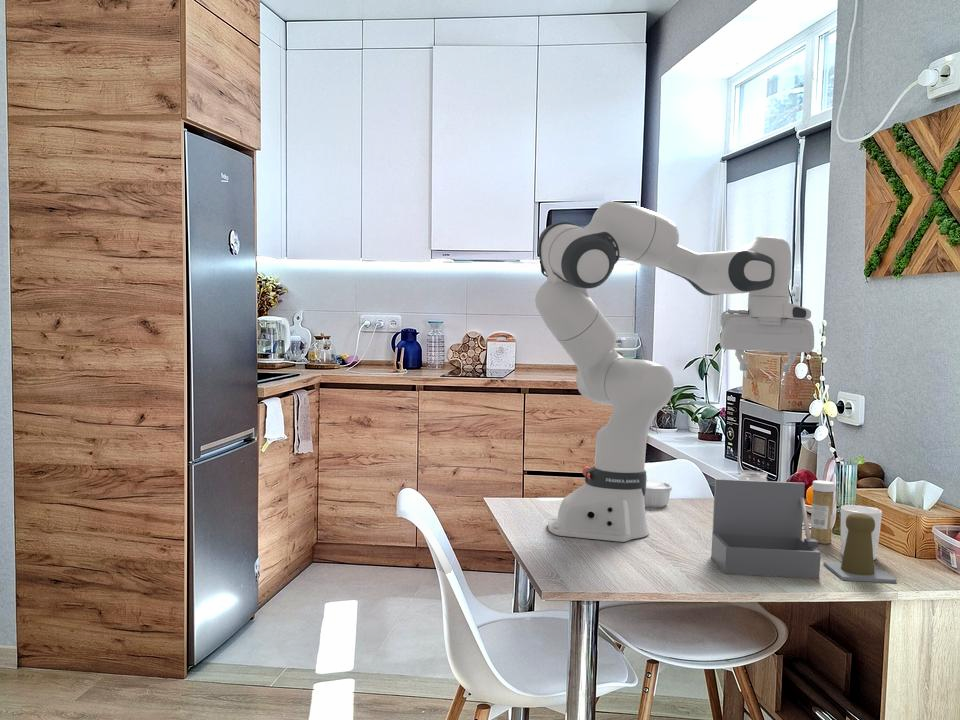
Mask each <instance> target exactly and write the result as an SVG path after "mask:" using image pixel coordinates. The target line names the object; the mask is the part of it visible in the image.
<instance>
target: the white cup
mask: <svg viewBox="0 0 960 720" xmlns="http://www.w3.org/2000/svg"><path fill="white" fill-rule="evenodd" d="M854 513H860V514H866V515H869V516H871V517H872V518H873V519H874V521H875V528H874V531H873V532H872V533H871V535H872V548H873V560H876V558H877V554H878V547H879V541H880V533H881V525H882V515H883V511H882V510H881V509H879V508H876V507H871V506H866V505H858V504H845V505H841V506H840V521H839V522H840V528H839V529H840V554H841V555H842V556H843V554H844V549H845V544H846V539H847V534H848V529H847V527H846V518H847V516H848V515H850V514H854Z"/></svg>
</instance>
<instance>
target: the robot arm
mask: <svg viewBox="0 0 960 720" xmlns="http://www.w3.org/2000/svg"><path fill="white" fill-rule="evenodd" d="M679 240H680V235H679V230H678V227H677V225H676V223H675V222H674V221H672V220H671V219H668V218H667V217H666V216H664V215H662V214H660V213H658V212H655V211H653V210H650V209H649V208H648V209H647V208H644V207H641V206H638V205H636V204H635V205H634V204H631V203H626V202H621V201H620V202H619V201H607V202H604V203H602V204H601V205H600V206H599V207H598V208H597V209H596V210H595V211H594V213H593V216H592V218H591V221H590V222H589V223H588V224H587V225H586V226H584V227H581V226H578V225H576V224H575V223H571V222H567V221H561V222H560V221H559V222H555V223H551V224H550V225H548V226H547V227H545V228H544V229H543V230H542V231H541V233H540V235H539V238H538V240H537V251H538V253H537V254H538V258H539V262H540V273H541V274H542V275H543V276H545V277H546V278H547V279H546V281H544V283H543V284H541V286H540V287H539V289H538V290H537V292H536V294H535V298H534V299H535V300H534V302H535V306H536V309H537V311H538V314H539V315H540V317H541V318H542V321H544V324H545V326H546V327H547V329H548V330H549V331H550V333H551V334H552V335H553V337H554V338H555V339H556V341H557V342H558V343H559V345H561V346H562V349H564V351H565V352H566V354H568V356H569V357H570V358H571V360H572V361H573V363H574V365H575V367H576V369H577V372H576V376H575V380H576V381H575V382H576V387H577V390H578V392H579V393H580V395H581V396H582V397H584V398H585V399H587V400H590V401H592V402H594V403H596V404H600V405H603V406H604V405H606V406H611V407H612V411H611V414H610V417H609V419H608V421H607V423H606V424H605V425H603V426H601V428H599V429H598V430H597V433H596V436H595V450H594V451H595V452H594V453H595V454H594V455H595V456H594V466H593V467H589V466H587V465H585V466H583V468H582V470H581V471H582V475H583V476H584V482H585V483H583V484H581V486H579V487H578V488H577V489H575V490H573V491H572V492H570V493H569V494H567V495H566V496H564V498H562V501H561V502H560V504H559V505H560V506H559V508H558V513H557V517H551V518H550V519H549V520H548V523H547V529H548V531H549V532H550V533H552V534H553V535H555V536H561V537H571V538H578V539H579V538H581V539H589V540H592V539H593V540H601V541H610V542H611V541H612V542H618V543H619V542H621V543H622V542H624V543H625V542H628V541H630V540H634V539H635V540H636V539H641V538H645V537H647V536H648V535H650V531H649V527H648V522H647V517H646V516H647V515H646V507H645V504H644V496H645V492H646V482H647V479H648V477H647V470H645V466H646V452H647V451H646V450H647V441H648V435H649V431H650V428H651V427H652V423H653V420H655V419H654V418H655V417H656V416H657V415H658V413H659V411H660V410H661V409H663V408H664V407H666V406H667V405H668V403H669V402H670V400H671V398H672V396H673V395H674V390H675V383H674V378H673V375H672V373H671V371H670V370H669V369H668V368H667V367H666V366H664V365H662V364H659V363H656V362H654V361H652V360H648V359H638V358H629V357H628V358H627V357H625V356H622V355H620V354H619V353H618V352H617V350H616V349H615V346H616V342H617V332H616V330H615V328H614V327H613V326H612V324H611V323H610V322H609V320H608V319H607V317H606V316H605V315H604V314H603V312H602V311H601V310H600V308H599V307H598V306H597V304H596V303H595V302H594V301H593V300H592V298H591V297H590V294H589V293H588V291H587V289H595V288H597V287H599V286H601V285H603V284H604V283H605V282H606V281H607V280H608V278H609V277H610V276H611V274H612V273H613V270H614V267H615V265H616V264H617V263H618V261H619V260H620V257H621V258H623V259H626V260H628V261H631V262H634V263H637V264H640V265H644V266H648V267H654V268H655V267H656V268H658V269H661V270H664V271H666V272H667V273H669V274H670V273H671V274H673V275H675V276H678V277H680V278H682V279H684V280H686V281H687V282H688V283H689V284H690V285H691V286H692V287H693V288H695V290H696V291H697V292H699V293H700V294H702V295H704V296H710V297H711V296H719V295H731V294H732V295H733V294H745V293H746V294H748V295H747V298H748V299H747V309H746V308H738V309H735V308H728V309H726V310H725V311H723V312H722V313H721V315H720V325H721V333H720V337H719V346H720V347H721V348H722V349H723V350H730V351H731V350H733V351H735V353H734V355H735V357H736V359H737V361H738V362H739V370H740V371H742V372H743V371H744V372H746V371H747V372H748V370H749V362H745V361H744V358H743V356H744V355H745V351H756V352H759V351H760V352H761V351H762V352H781V353H782V352H785V353H787V357H789V358H788V359H787V361H786V363H782V364H781V367H782V369H781V373H791V371H792V365H793V363H794V362H795V360H797V357H798V353H807V354H808V353H811V352H813V350H814V348H815V331H814V329H815V328H814V325H813V323H812V321H810V320H809V319H811V318H812V311H811V310H810V309H809V308H805V307H802V306H800V305H797V304H794V303H792V302H790V298H791V294H790V290H789V286H790V285H789V284H790V281H791V278H792V252H791V247H790V245H789V242H788V241H786V240H785V239H783V238H780V237H777V236H767V235H766V236H765V235H760V236H757V237H755V239H754V240H753V241H752V242H750V243H748V244H746V245H744V246H742V247H740V248H739V247H738V248H737V249H732V250H731V249H730V250H725V251H705V252H699V253H698V252H695V251H694V250H690V249H688V248H687V247H684V246H682V245H680V244H679V242H680V241H679Z"/></svg>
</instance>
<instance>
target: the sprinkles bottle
mask: <svg viewBox="0 0 960 720" xmlns="http://www.w3.org/2000/svg"><path fill="white" fill-rule="evenodd" d="M811 486H812V501H811V502H812V503H811V513H810V514H811V516H810V518H811V519H810V536H811V539H815V540H816V541H818V544H823V545H824V544H825V545H826V544H831V543H832V531H833V529H832V528H833V516H834V515H833V512H834V511H833V509H834V506H833V504H834V493H835V490H836V487H835V482H833V481H830V480H823V479H822V480H821V479H820V480H818V479H817V480H813V481H812V484H811Z"/></svg>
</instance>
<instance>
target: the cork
mask: <svg viewBox="0 0 960 720" xmlns="http://www.w3.org/2000/svg"><path fill="white" fill-rule="evenodd" d="M846 527H847V529H848V534H847V539H846V544H845V549H844V554H843V555H842V559H841V563H842V564H841V570H843V571H845V572H848V573H851V574H856V575H873V574H875V572H874V564H875V562H874V560H873V548H872V535H871V533H872V532H873V531H874V528H875V521H874V519H873V518H872V517H871V516H869V515H866V514H860V513H854V514H850V515H848V516H847V518H846Z"/></svg>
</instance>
